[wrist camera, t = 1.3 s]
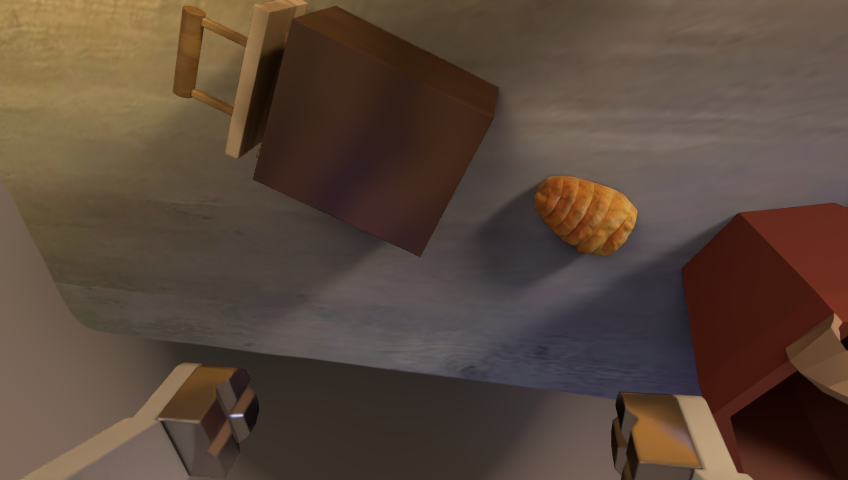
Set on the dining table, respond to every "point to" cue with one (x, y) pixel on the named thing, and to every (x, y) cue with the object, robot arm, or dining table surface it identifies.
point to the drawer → (256, 70)
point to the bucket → (776, 340)
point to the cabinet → (371, 127)
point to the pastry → (585, 213)
